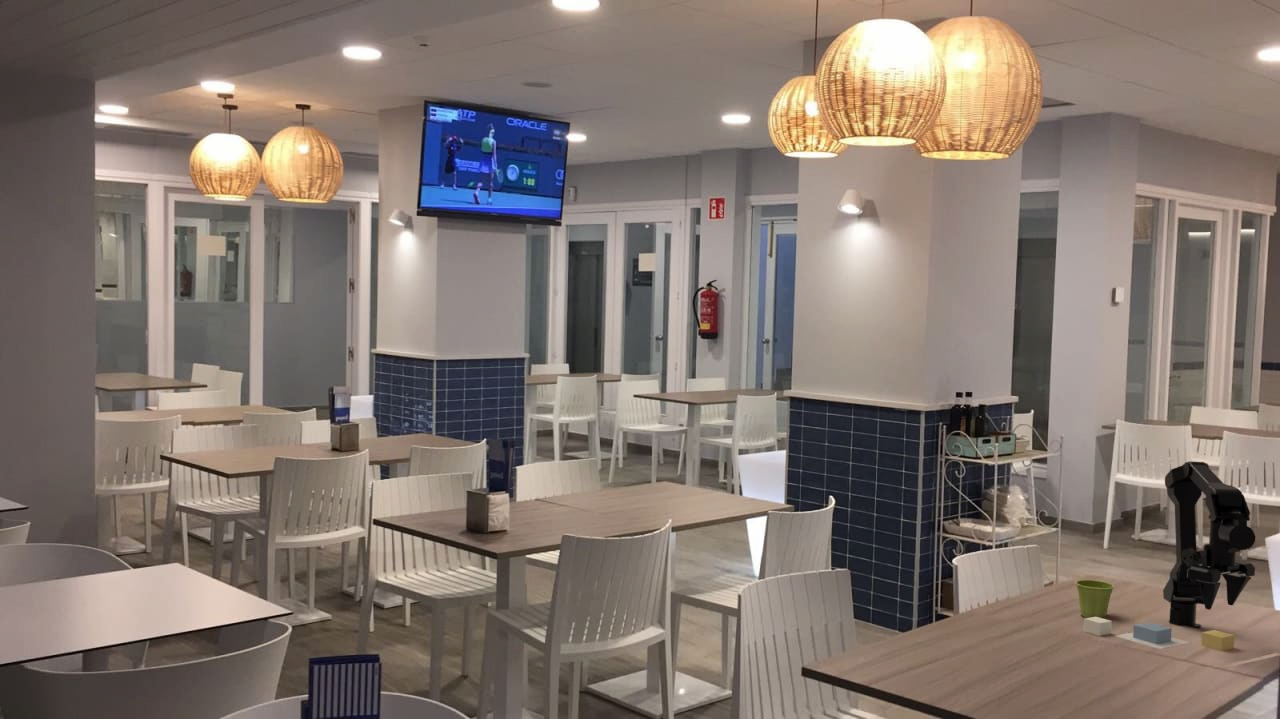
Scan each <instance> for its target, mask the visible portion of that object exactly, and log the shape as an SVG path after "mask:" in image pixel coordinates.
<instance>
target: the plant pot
mask: <svg viewBox="0 0 1280 719" xmlns="http://www.w3.org/2000/svg"><path fill="white" fill-rule="evenodd" d="M1075 585H1076V590H1078V601H1079V610H1080V616H1083V617H1084V619H1085V618H1091V617H1099V618H1104V617H1107V614H1108V609H1109V604H1110V598H1111V595H1112V592H1113V589H1115V585H1114V584H1113V583H1110V582H1107V581H1101V580H1096V579H1095V580H1094V579H1078V580H1076V581H1075Z"/></svg>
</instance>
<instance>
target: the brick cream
mask: <svg viewBox="0 0 1280 719" xmlns="http://www.w3.org/2000/svg"><path fill="white" fill-rule="evenodd" d="M1112 623H1113V621H1112V620H1109V619H1105V618H1104V617H1090V618H1085V617H1084V618H1083V632H1086V633H1088V634H1092V635H1095V636H1098V637H1100V636H1105V635H1106V636H1107V635H1111V634H1112V628H1113V627H1112Z"/></svg>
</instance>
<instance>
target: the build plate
mask: <svg viewBox="0 0 1280 719" xmlns="http://www.w3.org/2000/svg"><path fill="white" fill-rule="evenodd" d="M1115 637H1116V638H1118V639H1119V638H1121V639H1123V640H1126V641H1129V642H1130V641H1131V642H1134V643H1137V644H1141V645H1144V646H1148V647H1150V648H1151V647H1152V648H1155V649H1159V650H1163V649H1168V648H1172V647H1177V646H1181V645H1187V644H1190V643H1191V642H1190V641H1186V640H1182V639H1178V638H1175V637H1172V636H1171V641H1168V642H1163V643H1158V644H1154V643H1151V642H1147V641H1144V640H1140V639H1137V638H1133V631H1132V632H1126V633H1122V634H1117V635H1115Z"/></svg>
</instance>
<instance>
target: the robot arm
mask: <svg viewBox="0 0 1280 719" xmlns="http://www.w3.org/2000/svg"><path fill="white" fill-rule="evenodd" d="M1164 485H1165V487H1166V493H1167V496H1168V498H1169V499H1170V500H1171V502H1172V503H1173V505H1174V521H1175V522H1174V526H1175V527H1174V528H1175V552H1176V554H1175V555H1176V557H1175V558H1176V560H1175V564H1174V565H1173V566H1172V569H1171V570H1170V572H1169V579H1168V581H1167V583H1166V584H1165V585H1164V588H1163V590H1162V592H1163V593H1162V595H1163V600H1164V601H1165V600H1166V601H1167V602H1169V603H1170V607H1169V619H1168V623H1169V624H1172V625H1175V626H1179V627H1180V626H1181V627H1183V626H1185V627H1190V628H1193V629H1196V628H1201V627H1202V624H1200V623H1196V622H1197V621H1196V620H1197V604H1198V605H1204V609H1205V610H1208V611H1209V610H1212V607H1213V605H1214V602H1215V600H1216V597H1217V594H1218V592H1219V588H1220V586H1221V582H1220V580H1221V577H1222V578H1223V579H1224V580H1225V582H1226V600H1227V604H1228V606H1234V604H1235V603H1236V601H1237V599H1238V598H1239V597H1240V595H1241V593H1242V591H1243V590H1244V588H1245V587H1246V585H1247V584H1248V582H1249V581H1251V580H1252V577H1253V576H1255V575H1256V573H1255V572H1256V567H1255V566H1254V565H1253V564H1252V563H1251V562H1247V561H1241V560H1237V553H1239V552H1241V551H1246V550H1248V549H1250V548H1252V547H1253V546H1254V544H1255V542H1256V534H1255V532H1254V530H1253V529H1252V528H1251V527H1249V525H1248V522H1249V521H1250V520H1251V519H1250V515H1251V512H1250V510H1249V507H1248V504H1247V501H1246V498H1245V496H1244V494H1243V492H1242V491H1241V490H1240V489H1238V488H1237V487H1235V486H1233V485H1229V484H1226V483H1224V482H1223V481H1222V480H1221V479H1220V478H1219V477H1218V476H1217V474H1215V473H1214V472H1213V471H1212V469H1211V468H1210V467H1209V464H1208V463H1207V462H1205V461H1193V460H1191V461H1187V462H1184V463H1183V464H1182V465H1180V466H1177V467H1175V468H1172V469H1171V470H1169V472H1167V473H1166V475H1165V477H1164ZM1202 494H1203V495H1205V501H1204V503H1205V505H1206V507H1207V510H1208V512H1209V515H1208V519H1209V520H1210V521H1209V522H1210V523H1209V524H1210V525H1209V540H1208V541H1209V542H1208V543H1205V544H1204V546H1203V550H1198V549H1197V524H1196V523H1197V522H1196V520H1197V519H1196V506H1197V505H1196V504H1197V503H1198V501H1199V499H1200V498H1201V497H1202Z"/></svg>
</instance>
